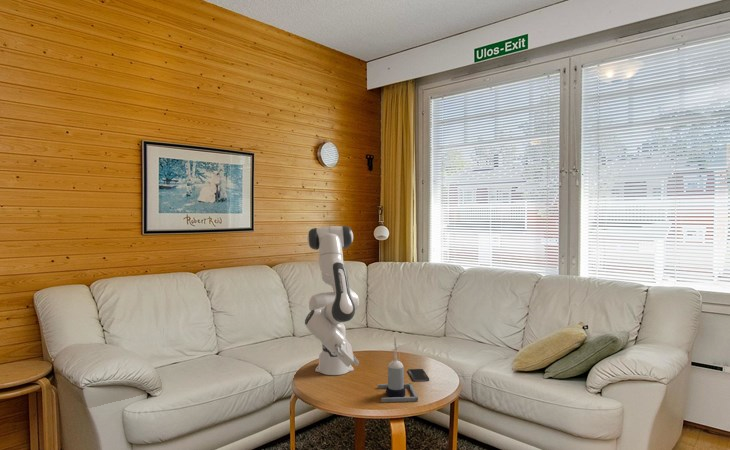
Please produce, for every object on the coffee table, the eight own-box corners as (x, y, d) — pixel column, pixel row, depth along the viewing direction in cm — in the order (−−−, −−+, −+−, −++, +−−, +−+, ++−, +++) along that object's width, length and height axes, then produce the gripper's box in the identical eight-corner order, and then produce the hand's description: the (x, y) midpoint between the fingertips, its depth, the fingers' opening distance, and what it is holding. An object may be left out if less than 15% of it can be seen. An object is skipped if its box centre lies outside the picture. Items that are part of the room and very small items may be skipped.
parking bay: (377, 387, 202) (377, 384, 202) (411, 386, 204) (411, 383, 204) (381, 402, 187) (381, 398, 187) (417, 401, 188) (417, 397, 188)
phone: (413, 380, 210) (407, 369, 225) (413, 382, 210) (407, 371, 225) (430, 379, 211) (423, 368, 226) (430, 381, 211) (423, 370, 226)
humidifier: (383, 391, 198) (383, 334, 197) (401, 390, 200) (402, 333, 199) (389, 399, 190) (389, 339, 189) (407, 397, 192) (407, 338, 191)
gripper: (341, 344, 183) (365, 367, 184) (339, 329, 203) (361, 350, 205) (330, 355, 183) (353, 378, 184) (329, 339, 203) (351, 360, 205)
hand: (357, 363), depth 195 cm, fingers closed
